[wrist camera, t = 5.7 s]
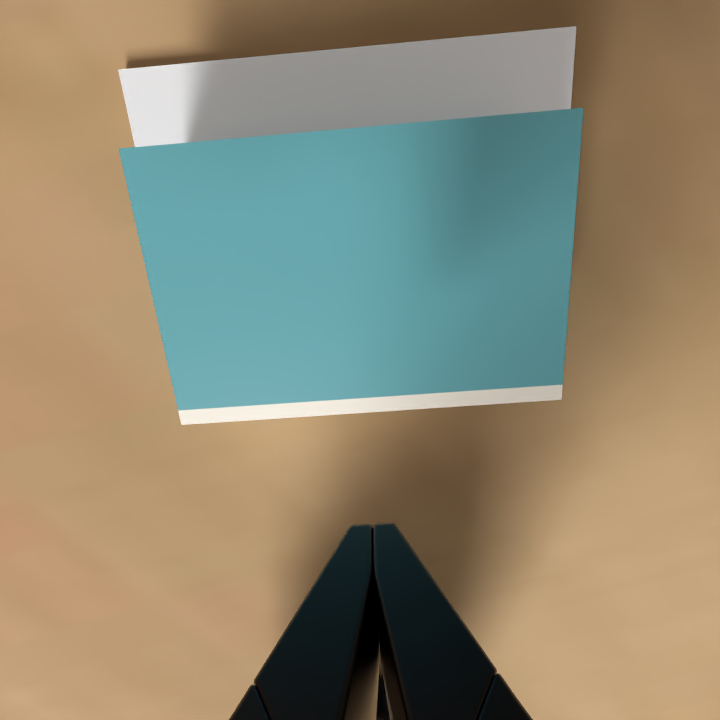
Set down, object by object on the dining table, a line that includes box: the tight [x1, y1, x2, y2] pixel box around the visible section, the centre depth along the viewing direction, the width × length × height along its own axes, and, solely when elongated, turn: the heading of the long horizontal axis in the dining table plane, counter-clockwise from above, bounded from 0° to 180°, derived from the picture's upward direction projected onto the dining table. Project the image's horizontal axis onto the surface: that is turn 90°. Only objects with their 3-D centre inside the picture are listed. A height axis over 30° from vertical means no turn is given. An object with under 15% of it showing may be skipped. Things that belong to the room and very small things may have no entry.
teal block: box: [119, 108, 584, 425], centre depth 14 cm, size 4×12×8 cm
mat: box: [118, 26, 576, 147], centre depth 15 cm, size 10×15×1 cm, turn 95°
